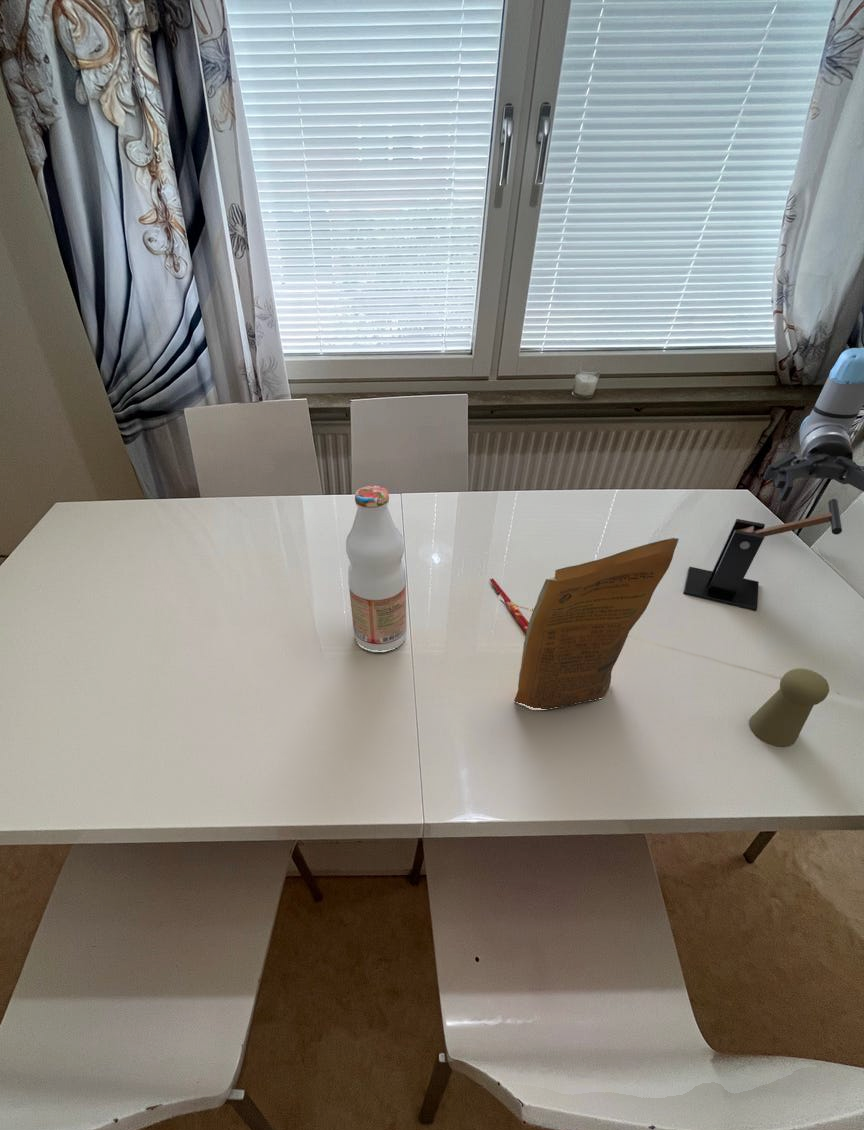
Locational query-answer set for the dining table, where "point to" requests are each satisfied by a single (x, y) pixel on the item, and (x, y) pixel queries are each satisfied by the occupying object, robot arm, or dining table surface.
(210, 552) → the dining table surface
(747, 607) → the black lever stand
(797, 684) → the cork
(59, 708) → the dining table surface
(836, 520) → the wood and metal hammer
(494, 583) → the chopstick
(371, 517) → the fruit juice
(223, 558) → the dining table surface
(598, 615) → the pancake mix bag
